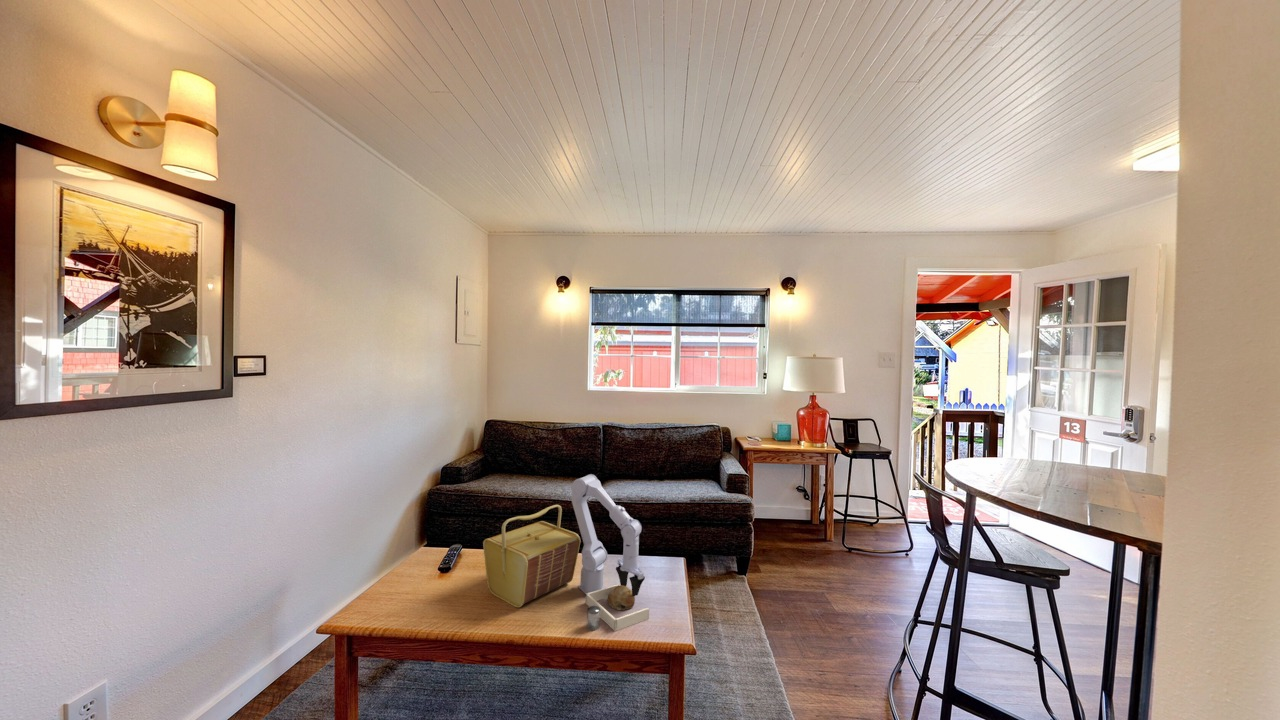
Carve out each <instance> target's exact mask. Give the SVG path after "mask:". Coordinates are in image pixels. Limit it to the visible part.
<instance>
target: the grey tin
mask: <svg viewBox="0 0 1280 720" xmlns="http://www.w3.org/2000/svg"><path fill="white" fill-rule="evenodd" d="M599 616H600V608H599V607H597V606H590V607H589V606H588V608H587V620H586V621H587V622H586V629H587V630H588V631H591V632H592V631H597V630H599V628H600V617H599Z"/></svg>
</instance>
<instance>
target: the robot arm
mask: <svg viewBox="0 0 1280 720" xmlns="http://www.w3.org/2000/svg"><path fill="white" fill-rule="evenodd" d="M570 489H571V492H572V493H571V504H572V507H573V511H574V514H575V518H576V521H577V525H578V528H579V532H580V535H581V539H582V542H583V547H582V549H581V557H582V558H581V564H582V567H581V569H580V584H579V585H578V586H577V587H578V588H579V589H580V590H581V591H582V592H583V593H584V594H585V595H586V594H587V593H590V592H594V591H597V590H600V589H604V588H605V587H604V574H605V572H604V570H605V568H604V567H605V562H606V561H607V560H608V551H607V550H606V548H605V547H604V545H603V543H602V542H601V541H600V540H599V539H598V537H597V534H596V530H595V526H594V523H593V520H592V516H591V512H590V509H589V506H588V503H587V500H588V498H589V497H592V498H595V499H597V500H598V502H600V503H601V505H602V506H603V507H604V508H606V510H607V511H608V512H609V517H610V519H611V520H612V521H613V522H614V524H616V526H617V528H619V529H620V534H621V537H622V539H623V552H622V558H618V559H617V565H618V566H616V567H615V571H616V573H617V575H618V579H619V585H622V586H626V587H627V585H628V579H629V581H630V584H631V590H632V596H635V597H636V596H638V595H639V592H640V589H641V586H642V584H643V582H644V581H645V577H646V576H645V575H644V572H642V570H641V568H640V567H639V548H640V547H639V545H640V534H641V533H642V529H643V527H642V523H641V522H640V521H639V520H638V519H634V518H633V517H632V516H630V515H629V513H628V512H627V511H626V508H625V507H624V506H621V505H618V504H617V505H616V503H615V502H614V500H613V499H612V498H611V496H609V494H608V493H607V491H606V490H605V489H604V487H603V486H602V483H601V481H600V480H599V479H598V477H597V476H596V475H595V474H592V473H590V474H587V475H585V476H583V477H580V478H576V479H575V480H574V481H573V482H572V484H571V486H570ZM629 573H630V574H632V575H633V576H630V577H629ZM628 577H629V578H628Z"/></svg>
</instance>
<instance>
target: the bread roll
mask: <svg viewBox="0 0 1280 720" xmlns="http://www.w3.org/2000/svg"><path fill="white" fill-rule="evenodd" d="M635 601H636V596H632V588H631V589H630V587H628V586H627V585H626V586H622V585H621V584H619V586H617V587H615V589H613V590H612V591H611V592H610V593H609V595H608V598H607V604H608V606H610V607H611V608H612V609H614V610H616V611H623V610H624V611H625V610H628V609H629V610H631V609H632V608H633V607H634V606H635V603H636V602H635Z"/></svg>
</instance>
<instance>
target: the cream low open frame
mask: <svg viewBox="0 0 1280 720" xmlns="http://www.w3.org/2000/svg"><path fill="white" fill-rule="evenodd" d="M617 586H620V583H619V584H618V583H617V584H615V585H611V586H608V587H604V589H600V590H597V591H594V592H590V593H587V594H585V604H586V606H588V608H589V607H590V606H597V607H599V608H600V616H599V619H601V620H602V621H603V622H604V623H606V625H608V626H609V628H611V629H612V630H613V631H614V632H617V631H618V630H619V631H620V630H623V629H625V628H627V627H631V626H633V625H636V624H638V623H641V622H644V621H646V620H649V619H650V608H649V607H646V608H643V609H639V610H637V611H634V612H631V613H628V614H626V615H622V616H620V617H617V618H616V617H615V616H614V615H612V613H610V612H609V611H608V610H607V609H606V608H605V607H604V606H602V605H601V604H600V603H599V601H601V600H604V599H608V595H609V593H610V592H611V591H612V590H613V589H615V587H617Z"/></svg>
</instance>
